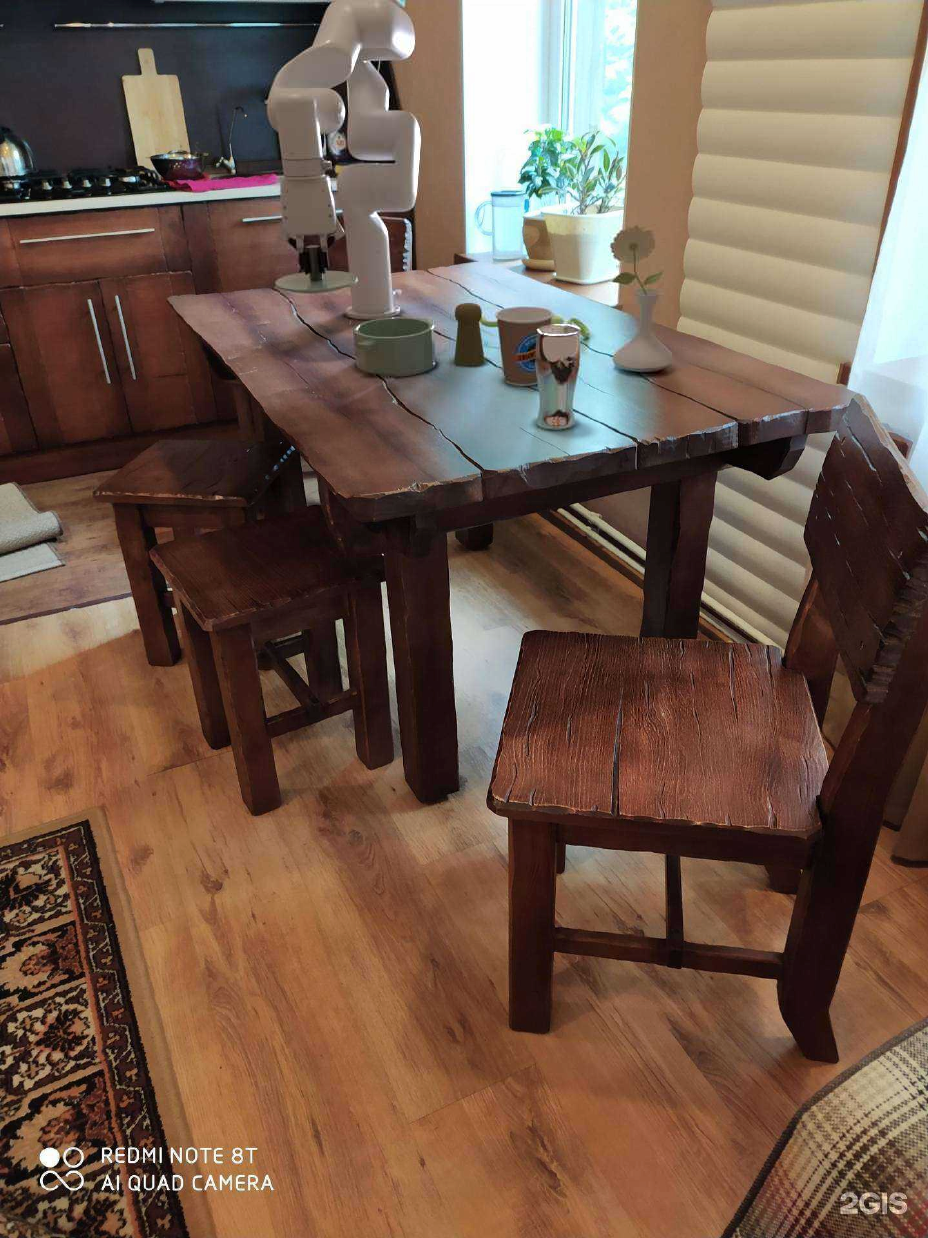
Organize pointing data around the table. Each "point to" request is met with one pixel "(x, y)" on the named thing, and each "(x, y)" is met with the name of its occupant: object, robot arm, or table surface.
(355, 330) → the pot
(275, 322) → the table surface
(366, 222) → the robot arm
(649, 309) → the flower in vase
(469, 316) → the cork
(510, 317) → the coffee cup
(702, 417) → the table surface
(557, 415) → the beer glass
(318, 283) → the lid
